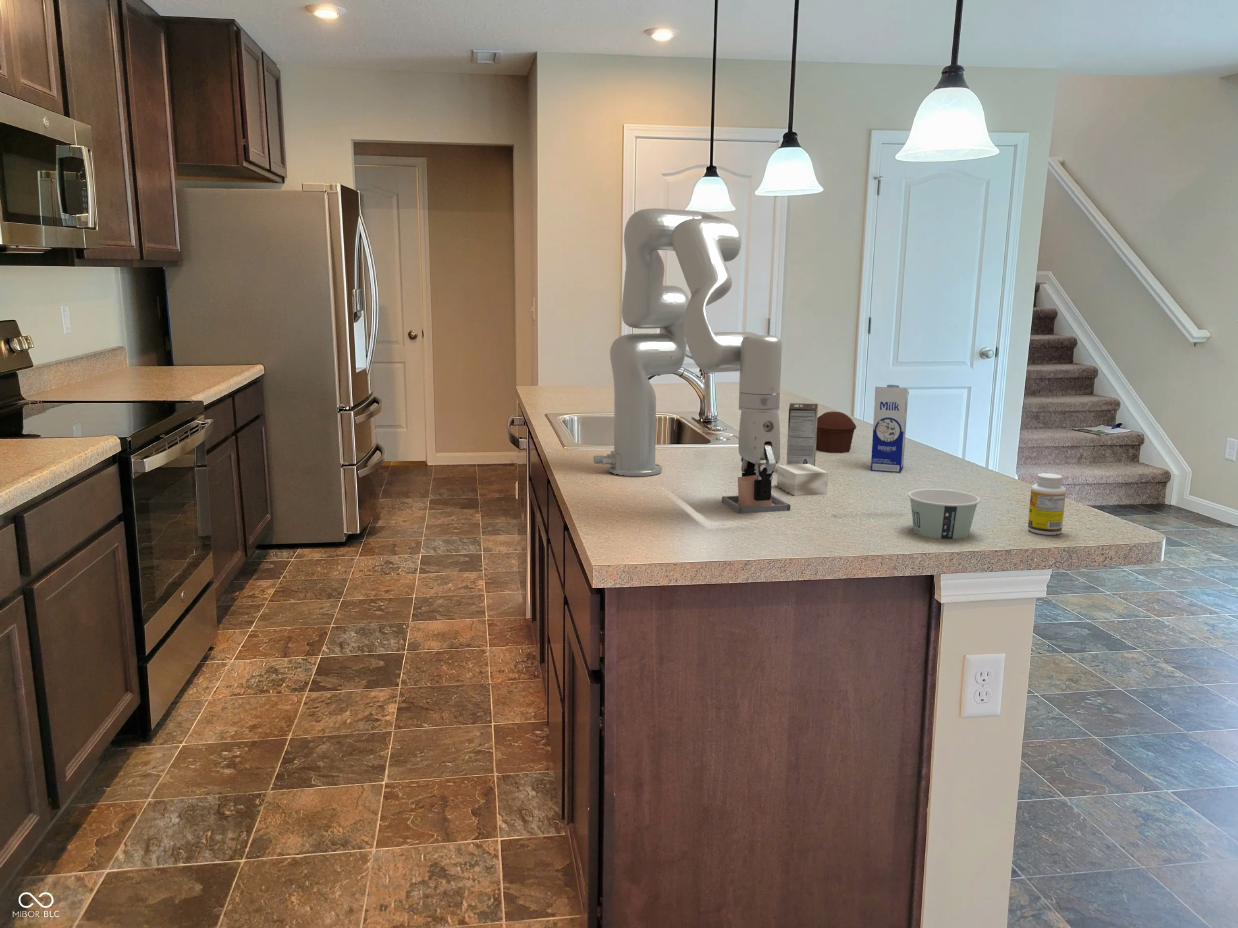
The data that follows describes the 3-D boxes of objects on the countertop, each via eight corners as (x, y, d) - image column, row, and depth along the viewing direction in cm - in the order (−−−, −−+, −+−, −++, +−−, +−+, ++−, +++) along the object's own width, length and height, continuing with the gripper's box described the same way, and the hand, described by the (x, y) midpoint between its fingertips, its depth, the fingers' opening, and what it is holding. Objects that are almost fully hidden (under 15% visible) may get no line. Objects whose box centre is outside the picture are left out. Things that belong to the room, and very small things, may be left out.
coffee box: (786, 470, 212) (789, 402, 209) (814, 472, 211) (817, 403, 208) (785, 478, 203) (788, 407, 200) (814, 480, 202) (818, 408, 199)
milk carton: (869, 470, 213) (874, 385, 209) (873, 465, 219) (878, 382, 215) (901, 473, 210) (907, 387, 206) (904, 467, 216) (909, 384, 212)
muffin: (859, 454, 233) (861, 416, 231) (816, 454, 233) (818, 415, 231) (848, 446, 245) (850, 409, 243) (807, 446, 245) (809, 409, 243)
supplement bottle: (1032, 525, 165) (1037, 470, 163) (1065, 531, 161) (1071, 475, 159) (1023, 532, 160) (1028, 475, 158) (1056, 537, 157) (1062, 480, 155)
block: (746, 513, 171) (745, 481, 169) (738, 507, 175) (737, 477, 174) (771, 509, 172) (770, 479, 170) (763, 504, 176) (762, 474, 175)
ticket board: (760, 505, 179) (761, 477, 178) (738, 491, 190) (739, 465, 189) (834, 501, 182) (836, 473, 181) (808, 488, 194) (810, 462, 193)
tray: (738, 519, 168) (739, 507, 167) (721, 508, 177) (722, 496, 176) (789, 516, 170) (790, 504, 170) (770, 505, 179) (771, 493, 178)
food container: (989, 540, 155) (993, 503, 154) (921, 542, 154) (924, 504, 153) (958, 522, 167) (961, 488, 166) (895, 523, 166) (897, 488, 165)
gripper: (797, 407, 162) (792, 506, 165) (760, 396, 178) (757, 485, 182) (757, 408, 160) (754, 508, 164) (724, 396, 177) (721, 487, 180)
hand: (755, 495), depth 173 cm, fingers open, 5 cm apart
